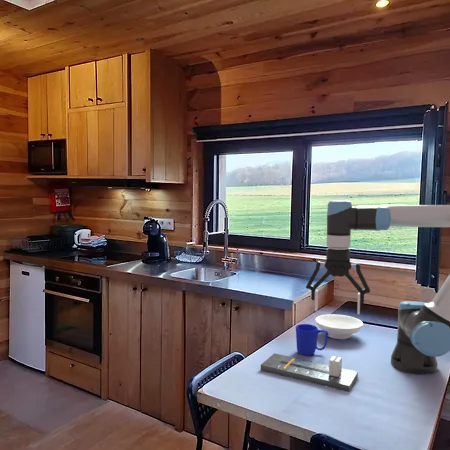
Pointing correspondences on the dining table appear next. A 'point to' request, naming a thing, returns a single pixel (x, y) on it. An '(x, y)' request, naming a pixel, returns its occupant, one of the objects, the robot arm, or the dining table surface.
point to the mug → (308, 339)
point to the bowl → (339, 325)
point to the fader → (335, 366)
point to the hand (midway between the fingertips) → (336, 311)
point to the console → (309, 372)
